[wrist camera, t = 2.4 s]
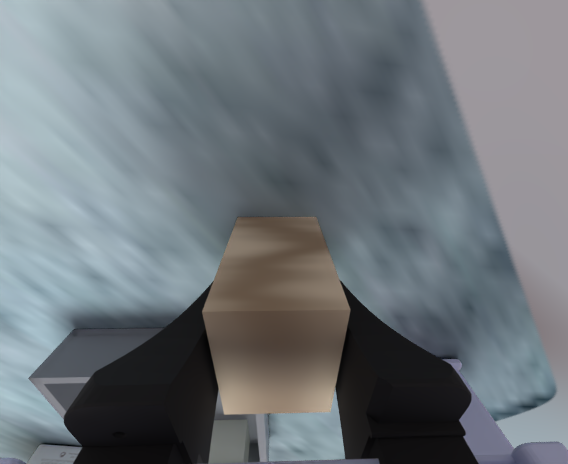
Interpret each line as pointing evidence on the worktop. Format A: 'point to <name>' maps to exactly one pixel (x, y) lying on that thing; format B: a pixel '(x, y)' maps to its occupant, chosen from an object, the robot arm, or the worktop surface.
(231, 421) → the white box
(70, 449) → the small box
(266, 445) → the tray
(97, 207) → the worktop surface
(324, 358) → the wood block
